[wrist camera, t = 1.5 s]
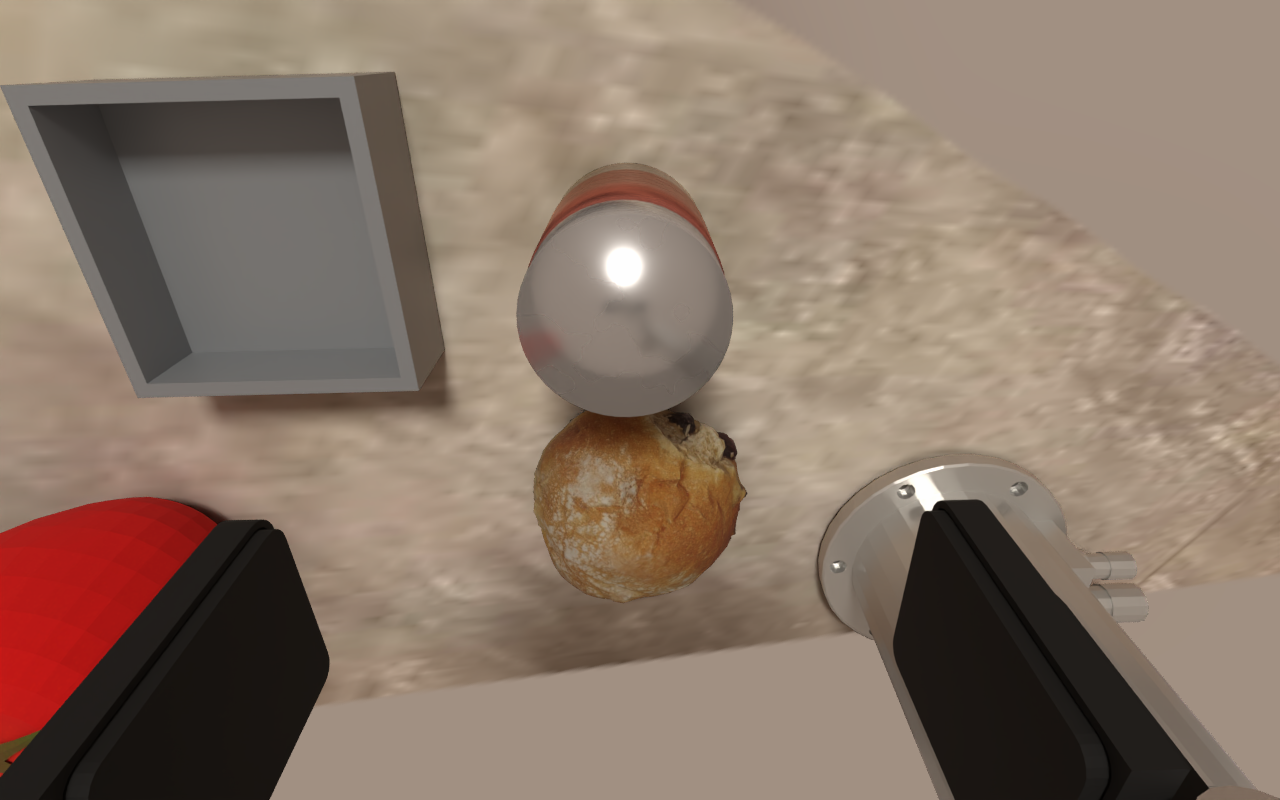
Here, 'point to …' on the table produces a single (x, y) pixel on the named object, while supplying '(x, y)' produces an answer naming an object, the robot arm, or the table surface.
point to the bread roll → (636, 502)
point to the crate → (242, 228)
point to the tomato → (78, 598)
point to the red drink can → (625, 295)
